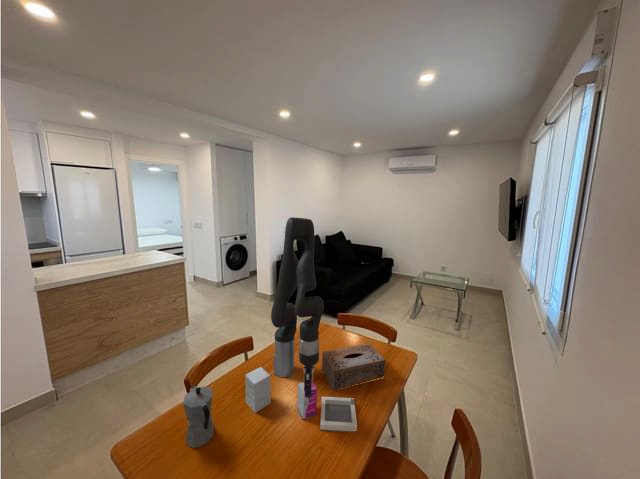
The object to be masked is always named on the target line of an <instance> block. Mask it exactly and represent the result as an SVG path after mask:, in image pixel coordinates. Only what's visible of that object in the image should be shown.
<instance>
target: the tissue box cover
mask: <svg viewBox="0 0 640 479" xmlns="http://www.w3.org/2000/svg"><path fill="white" fill-rule="evenodd" d="M321 358H322V359H321V363H322V364H321V372H322V373H323V375H324V377H325V379H326V380H327V383H328V385H329V384H330V385H329V386H330V389H331V390H332V392H335V391H334V390H336V391H339V390H338V389H341V388H345V387H348V386H352V385H355V384H360V383H363V382H367V381H370V380H373V379H377V378H381V377H383V376H384V377H385V376H386V374H385V372H386V360H387V359H386V358H384V357H383V355H381V353H379V352H378V350H377V349H376V348H375V347H374V346H373V345H372V344H371V343H370V342H369V343H364V344H358V345H353V346H346V347H342V348H337V349H330V350H325V351H322V353H321ZM345 389H346V388H345ZM341 390H342V389H341Z"/></svg>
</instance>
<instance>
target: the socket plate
mask: <svg viewBox="0 0 640 479" xmlns="http://www.w3.org/2000/svg"><path fill="white" fill-rule="evenodd" d="M320 403H321V405H320V406H321V407H320V428H319V429H320V430H319V431H327V432H328V431H329V432H339V431H340V433H343V432H345V433H352V432H351V431H357V432H358V423H357V414H356V404H355V398H353V397H352V398H351V397H338V396H337V397H336V396H321V402H320ZM346 431H347V432H346Z"/></svg>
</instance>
